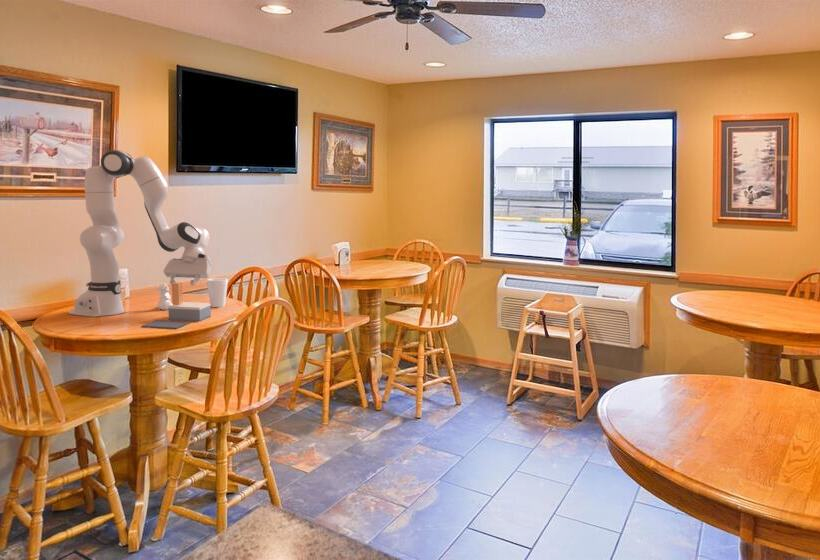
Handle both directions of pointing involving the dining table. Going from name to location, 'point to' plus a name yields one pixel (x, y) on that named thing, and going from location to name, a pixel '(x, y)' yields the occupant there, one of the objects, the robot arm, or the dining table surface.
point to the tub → (189, 314)
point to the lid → (179, 302)
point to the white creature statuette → (164, 297)
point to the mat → (166, 324)
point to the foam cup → (217, 291)
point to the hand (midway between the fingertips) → (182, 284)
